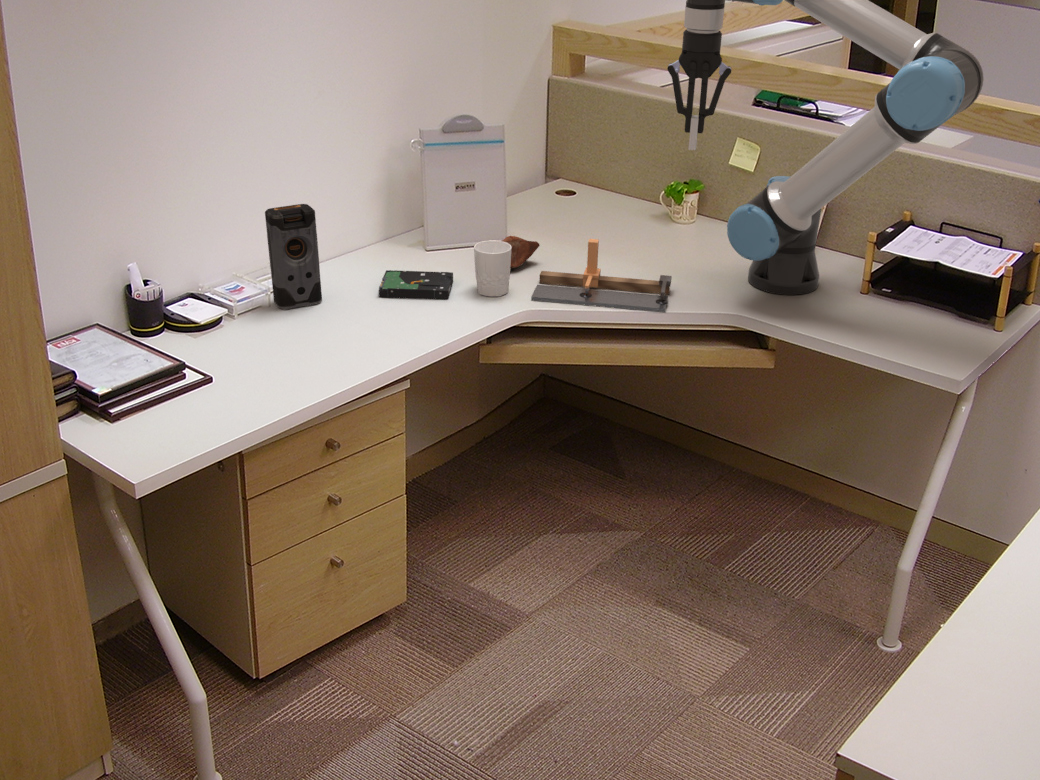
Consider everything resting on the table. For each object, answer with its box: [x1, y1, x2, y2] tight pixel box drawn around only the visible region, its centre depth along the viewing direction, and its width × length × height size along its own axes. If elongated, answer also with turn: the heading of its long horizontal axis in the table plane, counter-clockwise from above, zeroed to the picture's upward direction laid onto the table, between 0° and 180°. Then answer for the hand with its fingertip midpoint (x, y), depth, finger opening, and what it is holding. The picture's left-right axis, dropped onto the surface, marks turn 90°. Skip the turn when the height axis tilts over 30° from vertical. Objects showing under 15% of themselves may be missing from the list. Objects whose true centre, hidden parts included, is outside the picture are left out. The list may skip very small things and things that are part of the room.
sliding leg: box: [583, 238, 601, 294], centre depth 228 cm, size 3×10×10 cm, turn 169°
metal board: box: [530, 284, 669, 313], centre depth 226 cm, size 28×7×1 cm, turn 79°
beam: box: [539, 270, 673, 300], centre depth 229 cm, size 28×10×3 cm, turn 79°
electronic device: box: [264, 203, 323, 311], centre depth 219 cm, size 9×6×20 cm, turn 117°
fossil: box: [501, 235, 540, 269], centre depth 241 cm, size 13×8×10 cm
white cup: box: [473, 239, 512, 298], centre depth 228 cm, size 8×8×10 cm
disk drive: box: [378, 269, 454, 301], centre depth 230 cm, size 10×3×15 cm
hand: (692, 148), depth 223 cm, fingers closed
